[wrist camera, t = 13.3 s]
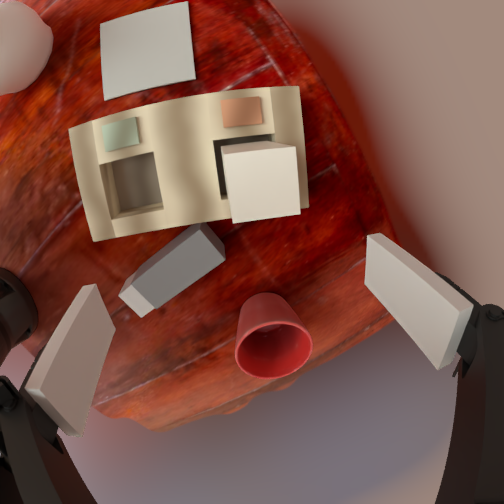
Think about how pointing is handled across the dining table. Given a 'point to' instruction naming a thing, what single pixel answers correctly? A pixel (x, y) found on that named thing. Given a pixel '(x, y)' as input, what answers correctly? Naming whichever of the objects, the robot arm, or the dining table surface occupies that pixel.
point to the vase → (22, 46)
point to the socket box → (177, 157)
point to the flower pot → (271, 338)
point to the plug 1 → (173, 269)
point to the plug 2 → (261, 180)
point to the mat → (146, 50)
